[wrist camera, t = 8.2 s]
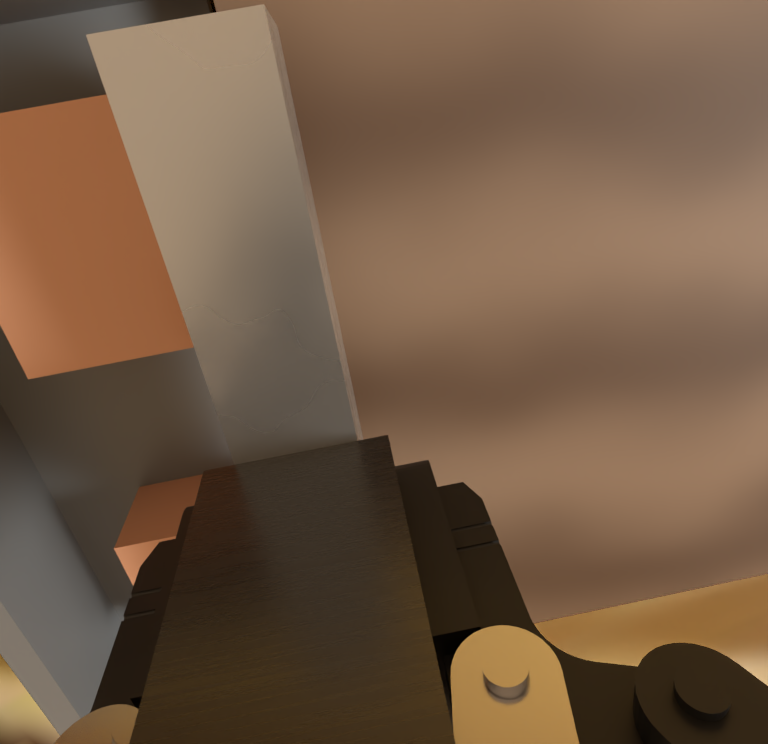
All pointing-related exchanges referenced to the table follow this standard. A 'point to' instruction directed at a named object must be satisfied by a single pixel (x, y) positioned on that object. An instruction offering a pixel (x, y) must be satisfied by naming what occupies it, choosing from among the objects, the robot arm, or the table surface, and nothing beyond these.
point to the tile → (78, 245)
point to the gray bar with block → (266, 420)
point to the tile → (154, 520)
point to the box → (81, 416)
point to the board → (555, 269)
